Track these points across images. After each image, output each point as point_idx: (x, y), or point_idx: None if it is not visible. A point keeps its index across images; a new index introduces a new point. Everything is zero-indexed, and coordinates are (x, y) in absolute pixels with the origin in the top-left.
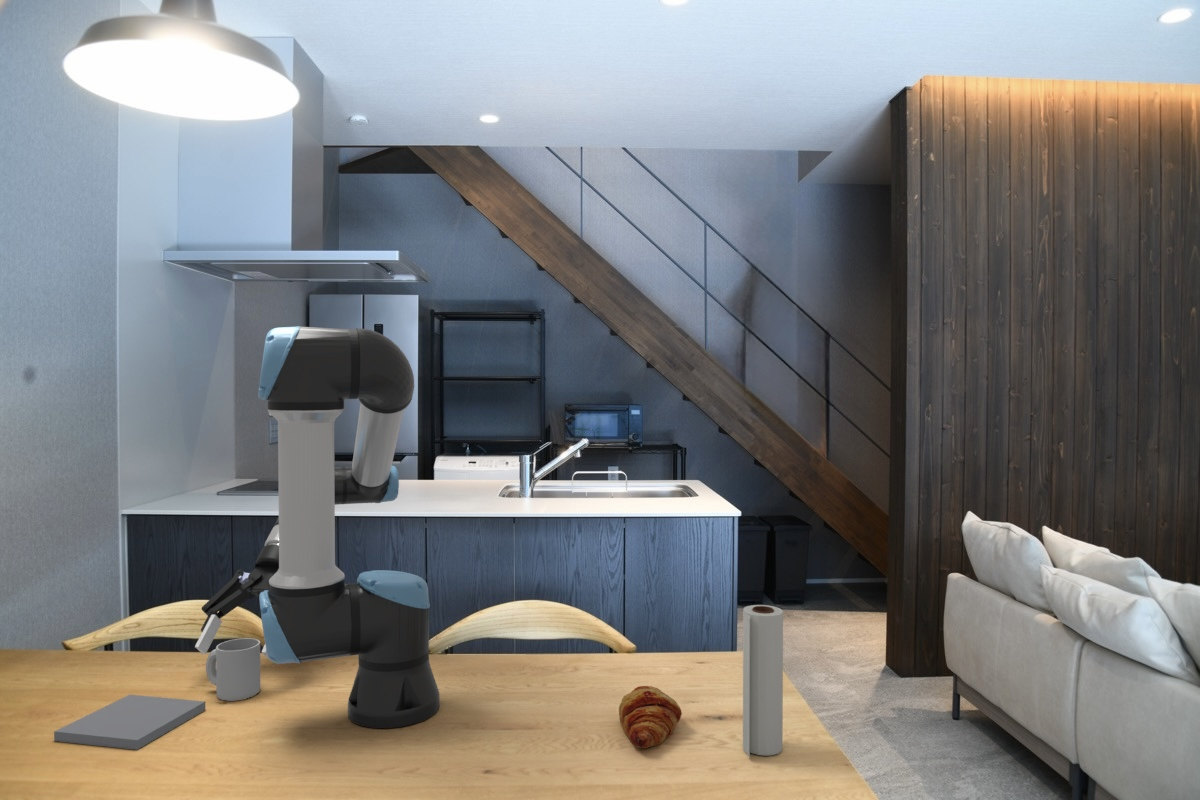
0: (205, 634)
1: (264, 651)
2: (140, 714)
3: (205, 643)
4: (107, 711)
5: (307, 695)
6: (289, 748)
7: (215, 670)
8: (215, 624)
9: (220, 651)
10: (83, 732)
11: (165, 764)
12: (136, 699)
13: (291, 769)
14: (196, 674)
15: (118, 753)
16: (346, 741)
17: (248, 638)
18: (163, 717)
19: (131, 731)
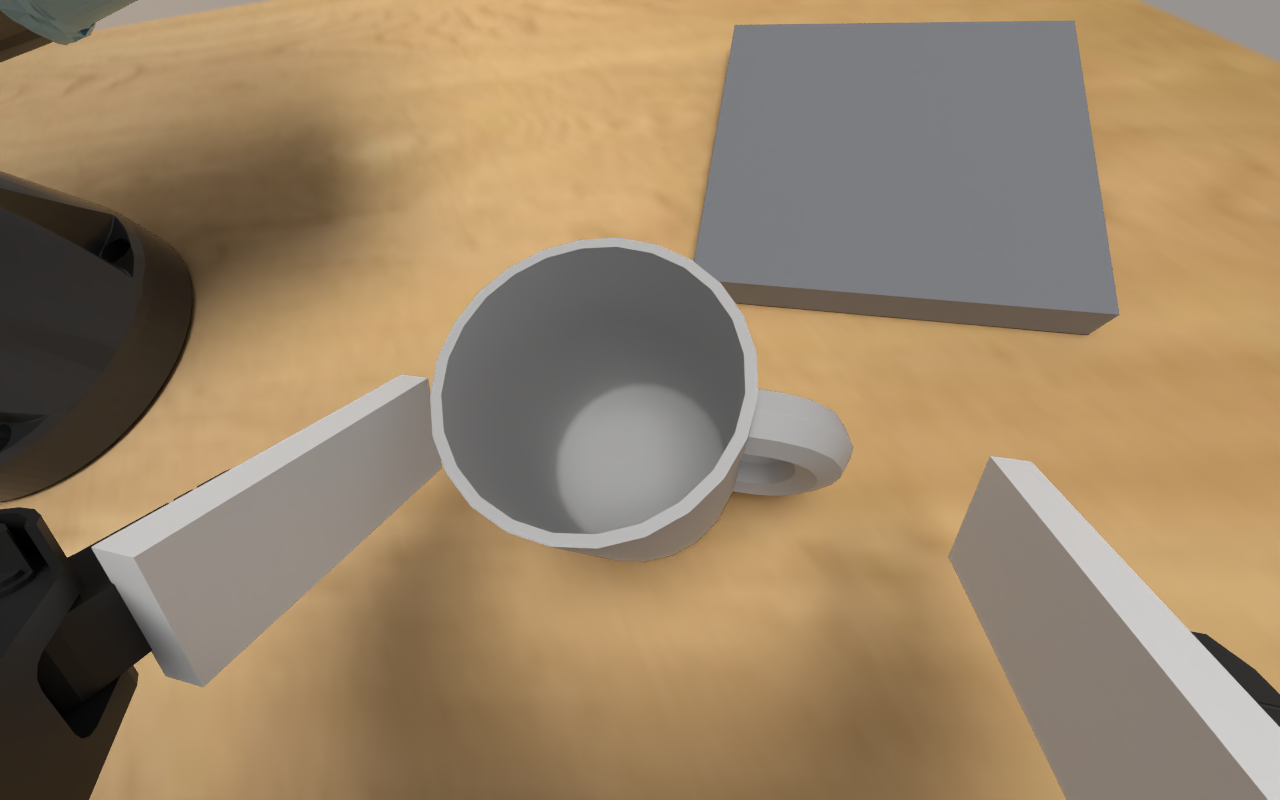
0: (1054, 547)
1: (404, 377)
2: (872, 154)
3: (996, 551)
4: (1038, 159)
5: None
6: (336, 119)
7: (781, 466)
8: (1129, 768)
9: (660, 249)
10: (957, 31)
11: (609, 19)
12: (1024, 268)
13: (315, 48)
14: None
15: None
16: (202, 166)
17: (569, 538)
18: (764, 147)
19: (797, 59)
